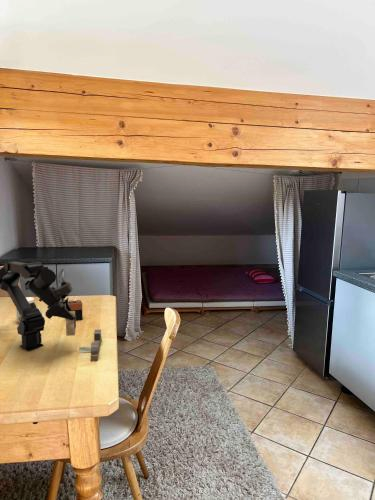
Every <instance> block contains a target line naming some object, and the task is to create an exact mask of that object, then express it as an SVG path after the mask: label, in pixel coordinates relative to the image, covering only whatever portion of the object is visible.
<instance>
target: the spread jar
mask: <svg viewBox="0 0 375 500" xmlns="http://www.w3.org/2000/svg"><path fill="white" fill-rule="evenodd" d="M25 297H26V296H25ZM26 299H27V301H28V302H29V304H30V306H31V307H32V309H34V308H38V307H37V305H36V302H35V298H34V297H30V296H28V297H26ZM38 309H39V311H40V312H41V314H42V316H43V317H44V319H46V317H45V314H44V313H43V310H42V309H41V308H38ZM15 310H16V311H15V312H16V321H17V323H18V325H19V324H20V319H21V315H20V313H19V312H18V310H17V308H16V307H15Z"/></svg>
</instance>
